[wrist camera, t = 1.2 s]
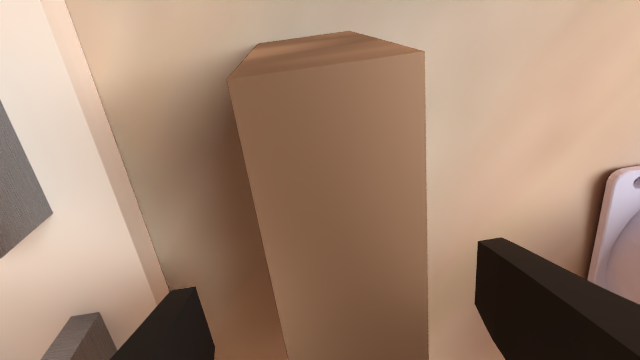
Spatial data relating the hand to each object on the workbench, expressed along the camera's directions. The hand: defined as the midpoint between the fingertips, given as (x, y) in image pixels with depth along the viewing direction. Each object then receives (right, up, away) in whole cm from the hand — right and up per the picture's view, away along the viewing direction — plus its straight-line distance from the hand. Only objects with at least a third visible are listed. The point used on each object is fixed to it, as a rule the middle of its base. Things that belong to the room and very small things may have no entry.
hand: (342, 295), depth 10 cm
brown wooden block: (0, +2, +4) cm, 5 cm away
